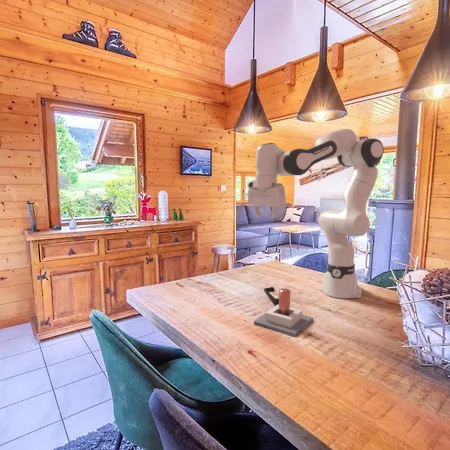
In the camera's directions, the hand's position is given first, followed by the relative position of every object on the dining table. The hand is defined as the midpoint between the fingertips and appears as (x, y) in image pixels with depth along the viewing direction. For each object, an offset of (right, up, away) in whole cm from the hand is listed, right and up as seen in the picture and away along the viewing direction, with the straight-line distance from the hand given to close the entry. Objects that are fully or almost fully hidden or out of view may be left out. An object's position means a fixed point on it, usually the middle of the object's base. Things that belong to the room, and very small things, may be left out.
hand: (265, 217), depth 125 cm
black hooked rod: (+5, -37, +7) cm, 38 cm away
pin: (+5, -38, -14) cm, 41 cm away
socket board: (+5, -39, -14) cm, 42 cm away
